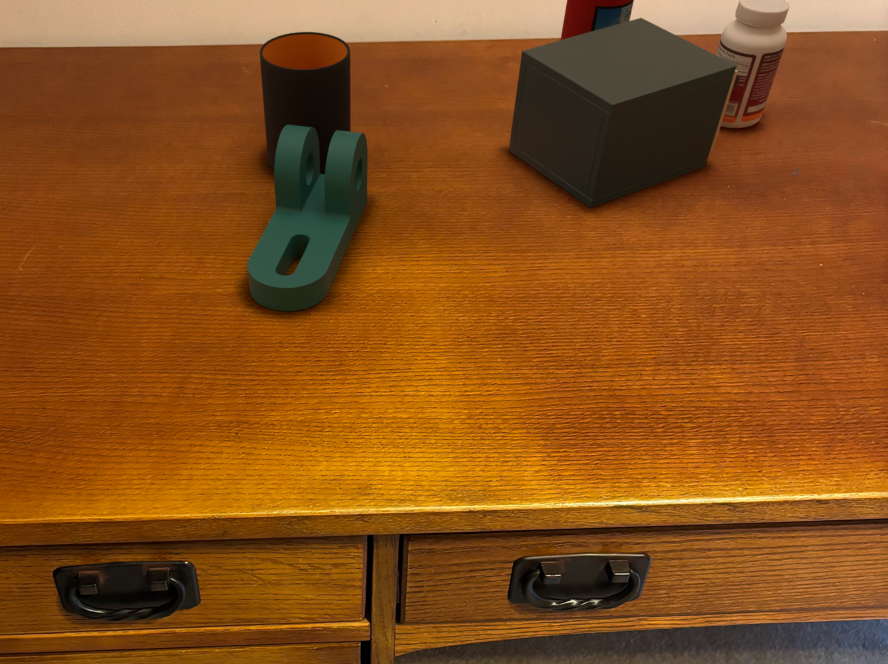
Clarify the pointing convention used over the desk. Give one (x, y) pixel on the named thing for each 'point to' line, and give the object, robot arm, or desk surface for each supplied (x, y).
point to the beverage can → (594, 15)
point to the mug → (305, 87)
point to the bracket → (309, 218)
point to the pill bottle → (753, 57)
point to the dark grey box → (618, 109)
